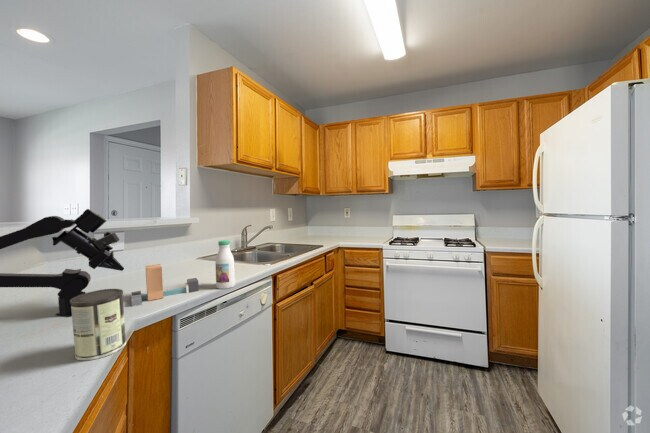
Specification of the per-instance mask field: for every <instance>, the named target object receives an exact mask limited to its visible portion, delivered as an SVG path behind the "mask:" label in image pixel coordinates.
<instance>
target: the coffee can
mask: <svg viewBox="0 0 650 433" xmlns="http://www.w3.org/2000/svg"><path fill="white" fill-rule="evenodd" d="M123 295H124V290H123V289H121V288H106V289H105V288H103V289H100V290H99V289H97V290H93V291H89V292H85V293H84V294H81V295H78V296H76V297H74V298H72V299H71V300H70V304H71V310H72V316H71V318H72V332H73V342H74V344H73V345H74V358H75V359H76V360H77V361H92V360H98V359H102V358H105V357H107V356H110V355H113V354H115V353H117V352H119V351H120V350H122V349H123V348H124V347H126V345H127V340H126V323H125V311H124V296H123Z"/></svg>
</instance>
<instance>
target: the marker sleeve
mask: <svg viewBox="0 0 650 433" xmlns="http://www.w3.org/2000/svg"><path fill="white" fill-rule="evenodd" d="M162 270H163V269H162V265H161V264H160V263H158V264H157V263H156V264H149V265H145V279H146V280H145V281H146V294H147V295H148V299H147V301H153V300H158V299H159V300H160V299H163V298H164V296H163V291H164V287H163V284H164V283H163V271H162Z"/></svg>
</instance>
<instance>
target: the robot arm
mask: <svg viewBox="0 0 650 433" xmlns="http://www.w3.org/2000/svg"><path fill="white" fill-rule="evenodd" d="M106 222H107V220H106V219H105V218H104V217H103V216H101V215H100V214H99V213H98V214H97V213H95V212H94V211H92V210H91V209H89V208H86V209H85V210H84V211H83V213H82V214H80V215H79V216H78V217H76V219H64V218H63V217H61V216H58V215H51V216H45V217H43V218H42V219H38V220H37V221H35V222H33V223H31V224H29V225H27V226H26V227H24V228H22V229H19V230H16V231H13V232H10V233H6V234H4V235H1V236H0V250H2V249H5V248H8V247H11V246H13V245H17V244H20V243H22V242H24V241H27V240H31V239H36V238H41V237H42V238H43V237H46V236H49V235H54V234H58V235H57V236H52V237H51V239H52V246H57V245H58V244H59V243H63V244H64V245H66V246H67V247H69V248H71V249H72V250H74V251H75V253H76V254H78V255H80V254H81V255H83V256H84V257H85V258H87V259H88V266H89V268H92V269H93V270H95V269H96V268H97V267H98V268H104V269H108V270H109V269H110V270H114V271H121V272H122V271H123V270H124V269H125V268H124V266H123V265H122V264H121V263H120V261H118V260H117V259H116V258H115V257H114V250H113V248H114V247H113V246H111V244H114V243H117V242H119V241H120V238H119V237H118V234H116V232H109V231H107V232H104V233H103V237H100V238H98V239H97V238H94V237H90V236H89V235H87V234H89V233H92V234H94V233H95V232H96V231H97V230H98V229H100V228H101V227H102V226H103V225H104V224H105V223H106ZM71 227H73V228H72V229H70V230H66V228H67V229H68V228H71ZM62 231H63V232H62ZM60 232H61V233H60ZM59 233H60V234H59ZM111 250H112V251H111ZM91 279H92V278H91V274H89V273H88V271H85V270H82V268H78V269H72V268H65V269H64V270H63V271H62V273H57V274H56V273H53V274H52V273H50V274H49V273H9V272H8V273H0V288H54V289H57V290H58V292H57V296H58V297H57V298H58V300H57V302H58V312H56V313H55V315H56V316H62V317H63V316H64V317H72V310H71V304H70V300H71V299H72V298H74V297H76V296H78V295H81V294H84V293H86V291H83V290H85V289H86V288H87V287H88V286H89V284H90V281H91Z"/></svg>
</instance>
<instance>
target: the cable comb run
mask: <svg viewBox="0 0 650 433" xmlns="http://www.w3.org/2000/svg"><path fill="white" fill-rule="evenodd" d="M199 287H200V286H199V280H198V278H197V277H194V278H188V279H186V282H185V283H184V286H183V287H179V288H173V289H168V290H163V297H167V296H172V295H178V294H183V293H184V294H185V293H186V294H190V293H194V292H199V289H200V288H199ZM145 299H146V300H148V295H147V293H145V294H142V290H137V291H132V292H131V307H135V305H136V306H140V304H141V305H143V304H142V303H143V301H146V300H145Z"/></svg>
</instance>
